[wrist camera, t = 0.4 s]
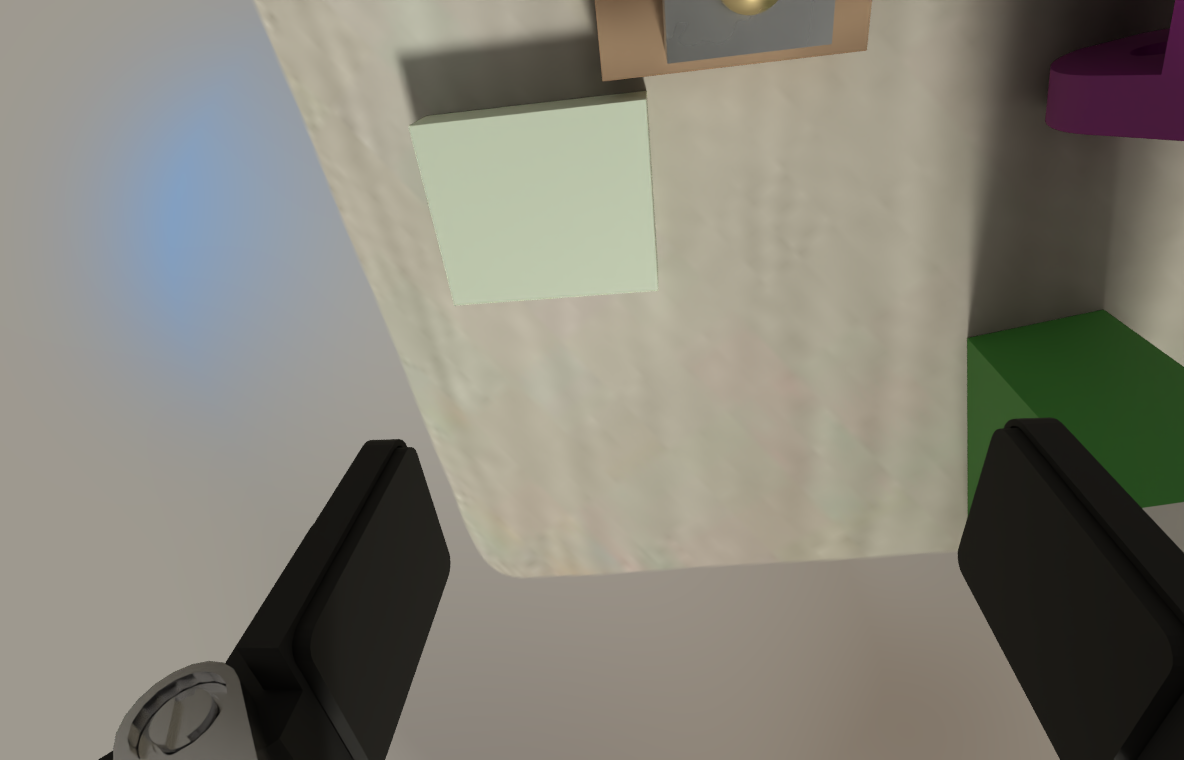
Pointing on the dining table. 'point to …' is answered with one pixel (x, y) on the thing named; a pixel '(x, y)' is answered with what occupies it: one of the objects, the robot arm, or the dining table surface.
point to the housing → (743, 27)
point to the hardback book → (1087, 402)
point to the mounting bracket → (1122, 86)
